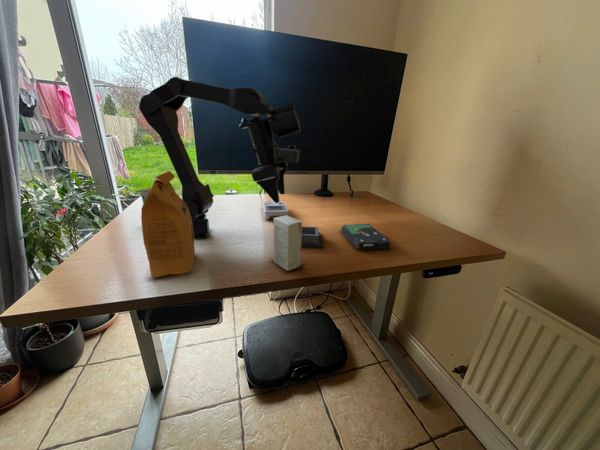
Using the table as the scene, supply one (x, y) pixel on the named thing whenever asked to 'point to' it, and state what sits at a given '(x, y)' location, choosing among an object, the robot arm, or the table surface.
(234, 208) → the table surface
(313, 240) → the dock pad
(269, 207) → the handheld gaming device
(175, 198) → the coffee package
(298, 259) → the cosmetic box
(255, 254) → the table surface
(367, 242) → the disk drive
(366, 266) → the table surface
